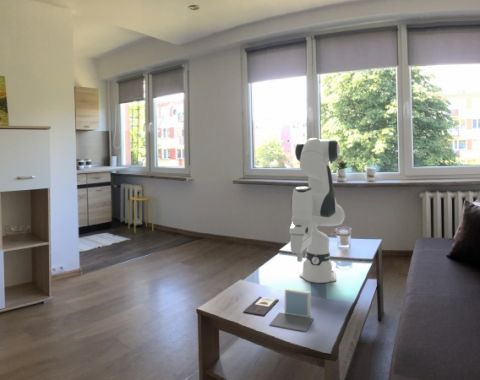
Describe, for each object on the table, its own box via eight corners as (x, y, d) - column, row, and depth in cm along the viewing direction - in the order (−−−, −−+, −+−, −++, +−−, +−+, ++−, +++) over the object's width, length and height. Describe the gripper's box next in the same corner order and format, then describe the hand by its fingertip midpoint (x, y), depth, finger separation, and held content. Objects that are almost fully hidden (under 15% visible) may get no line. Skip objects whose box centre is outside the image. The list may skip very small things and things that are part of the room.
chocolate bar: (243, 311, 156) (259, 296, 172) (243, 313, 156) (259, 298, 172) (264, 315, 152) (278, 299, 168) (264, 317, 152) (278, 301, 168)
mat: (279, 313, 155) (279, 312, 155) (313, 319, 149) (313, 318, 149) (269, 325, 144) (269, 324, 144) (306, 332, 138) (306, 331, 138)
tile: (286, 311, 157) (286, 287, 156) (310, 315, 153) (310, 291, 152) (284, 313, 155) (284, 289, 154) (308, 317, 151) (309, 293, 150)
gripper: (301, 221, 167) (300, 252, 168) (287, 230, 148) (287, 264, 149) (315, 222, 164) (314, 254, 166) (303, 231, 146) (303, 266, 147)
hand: (301, 259), depth 157 cm, fingers open, 5 cm apart
